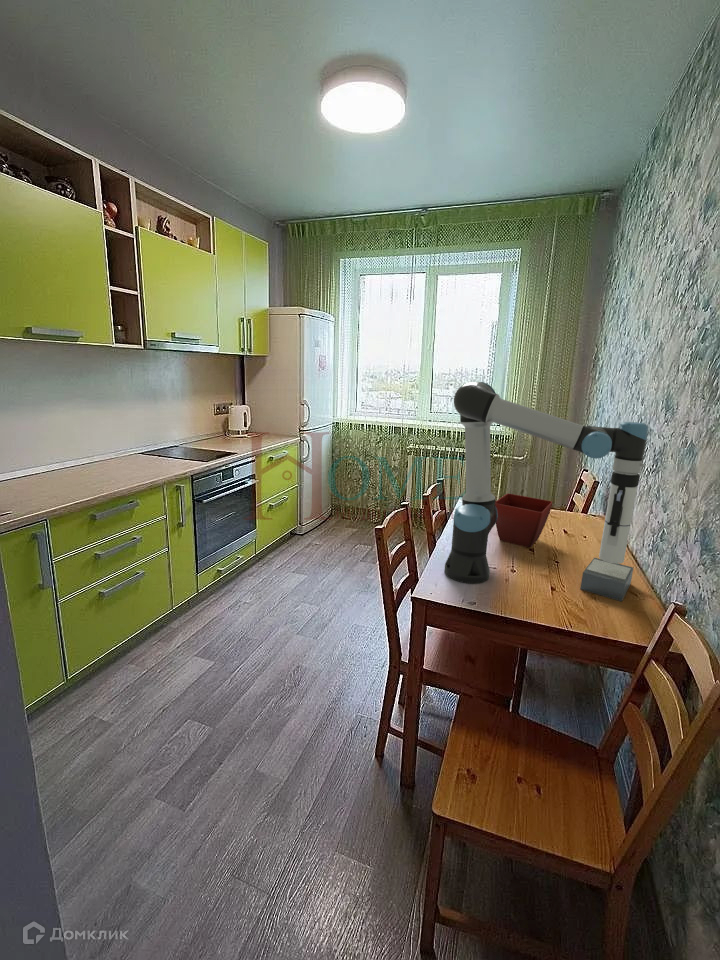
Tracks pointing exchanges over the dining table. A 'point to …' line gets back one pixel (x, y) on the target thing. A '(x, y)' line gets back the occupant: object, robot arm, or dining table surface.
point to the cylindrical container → (618, 552)
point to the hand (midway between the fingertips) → (614, 541)
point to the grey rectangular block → (607, 579)
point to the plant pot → (521, 518)
